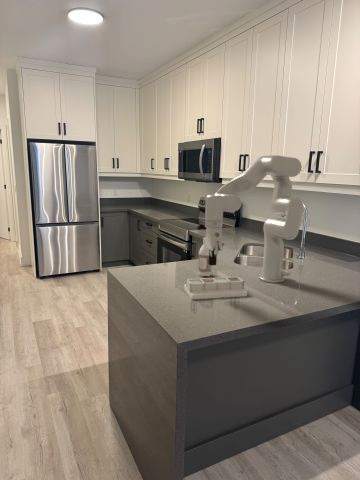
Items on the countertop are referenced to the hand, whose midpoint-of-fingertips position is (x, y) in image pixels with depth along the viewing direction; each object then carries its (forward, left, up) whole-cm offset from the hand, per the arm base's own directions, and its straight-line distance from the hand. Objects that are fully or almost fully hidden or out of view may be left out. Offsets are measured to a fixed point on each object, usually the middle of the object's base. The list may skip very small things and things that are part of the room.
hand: (212, 264), depth 144 cm
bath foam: (-5, -25, -13) cm, 29 cm away
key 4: (+7, 0, -9) cm, 12 cm away
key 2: (-5, 0, -9) cm, 10 cm away
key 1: (-11, 0, -9) cm, 14 cm away
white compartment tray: (-2, 0, -13) cm, 13 cm away
